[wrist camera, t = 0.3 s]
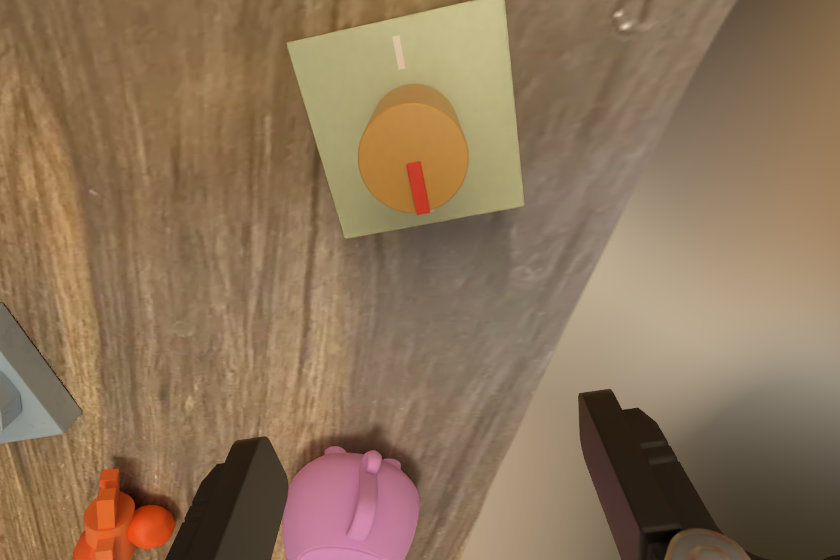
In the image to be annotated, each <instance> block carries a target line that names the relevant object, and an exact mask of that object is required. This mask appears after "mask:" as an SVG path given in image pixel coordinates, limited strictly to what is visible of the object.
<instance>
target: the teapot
mask: <svg viewBox="0 0 840 560" xmlns="http://www.w3.org/2000/svg"><path fill="white" fill-rule="evenodd" d="M400 469H401V464H400V462H399V461H397V460H395V459H390V458H388V459H384V460H382V456H381V454H380V453H378V452H377V451H374V450H373V451H368V452H366V453H365V454H357V453H347V452H346V451H345V450H344V449H343V448H341V447H337V446H332V447H329V448H327V449H326V450H325V452H324V455H323V456H321V457H318V458H317V459H315V460H313V461H311V462H310V463H308V464H307V465H306V466H304V467H303V468H302V469H301V470H300V471H299V472H298V473H297V474H296V476H295V477H294V479H293V480H292V482H291V484H290V485H289V488H288V498H287V502H286V506H285V509H284V513H283V522H282V533H283V544H284V550H285V555H286V559H287V560H404V559H405V557H406V555H407V553H408V551H409V548H410V546H411V543H412V541H413V538H414V534H415V530H416V526H417V522H418V516H419V508H420V498H419V494H418V491H417V489H416V487H415V485H414V484H413V482H412V481H411V480H410V478H409V477H408V476H407V475H406V474H405V473H404V472H403V471H401V470H400Z"/></svg>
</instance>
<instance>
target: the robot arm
mask: <svg viewBox="0 0 840 560" xmlns="http://www.w3.org/2000/svg"><path fill="white" fill-rule="evenodd" d="M578 402H579V427H580V441H581V447H582V451H583V455H584V459H585V462H586V465H587V467H588V470H589V473H590V475H591V478H592V481H593V484H594V486H595V489H596V491H597V494H598V497H599V500H600V503H601V505H602V508H603V511H604V513H605V516H606V519H607V522H608V524H609V527H610V530H611V532H612V535H613V538H614V540H615V543H616V546H617V548H618V551H619V554H620V556H621V559H622V560H768V559H764V558H761V557H758V556H756V555H753V554H751V553H749V552H747V551H745V550H743V549H742V548H741V547H740V546H739V545H737V544H736V543H735V542H734V541H732V540H731V539H729V538H728V537H726V536H725V535H724V534H723V533H722V532H721V531H720V529H719V528H718V527H717V526H716V524H715V522H714V521H713V519H712V518H711V516H710V514H709V512H708V510H707V509H706V507H705V505H704V504H703V502H702V500H701V498H700V497H699V495H698V493H697V492H696V490H695V488H694V486H693V485H692V483H691V481H690V479H689V478H688V476H687V474H686V473H685V471H684V469H683V467H682V466H681V464H680V462H678V461H677V457H676V455H675V454H674V452H673V450H672V448H671V447H670V446H669V445H668V442H667V440H666V438H665V436H664V435H663V433H662V431H661V429H660V428H659V426H658V424H657V423H656V422H655V421H654V420H653V419H651V418H650V417H649V416H648V415H646V414H645V413H644V412H643V411H641V410H640V409H639V408H633V409H626V410H622V409H621V407H620V405H619V403H618V401H617V399H616V397H615V395H614V393H613V392H612V390H611V389H606V390H599V391H592V392H585V393H579V396H578ZM287 498H288V480H287V476H286V473H285V471H284V469H283V467H282V465H281V463H280V461H279V459H278V457H277V454H276V452H275V450H274V448H273V446H272V444H271V442H270V440H269V439H268V438H267V437H257V438H250V439H243V440H237V441H235V442H234V444H233V445H232V447H231V449H230V452H229V454H228V456H227V459H226V461H225V463H222V464H217V465H216V466H215V467H214V468H213V470H212V471H211V472H210V473H209V474H208V475H207V477H206V478H205V479H204V480H203V481H202V482H201V484H200V487H199V489H198V491H197V493H196V495H195V497H194V499H193V502H192V503H193V505H192V506H190V508H189V510H188V512H187V514H186V517H185V522H184V523H182V525H181V527H180V529H179V532H178V534H177V536H176V538H175V540H174V542H173V544H172V547H171V549H170V551H169V553H168V555H167V557H166V559H165V560H271V557H272V553H273V549H274V546H275V542H276V538H277V535H278V531H279V527H280V524H281V520H282V516H283V513H284V509H285V506H286V502H287ZM824 560H840V555H836V556H831V557H828V558H826V559H824Z"/></svg>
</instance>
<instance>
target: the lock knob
mask: <svg viewBox="0 0 840 560" xmlns="http://www.w3.org/2000/svg"><path fill="white" fill-rule="evenodd" d="M468 165H469V152H468V146H467V142H466V139H465V136H464V134H463V131H462V128H461V125H460V122H459V120H458V117H457V114H456V111H455V109H454V108H453V106H452V104H451V103H450V101H449V100H448V99H447V98H446V97H445V96H444V95H443V94H442V93H440V92H439V91H437V90H436V89H434V88H431V87H429V86H425V85H420V84H409V85H404V86H400V87H398V88H396V89H394V90H392V91H390V92H389V93H388V94H386V95H385V96H384V97H383V98H382V99H381V100H380V102H379V103H378V105H377V106H376V108H375V110H374V112H373V114H372V116H371V118H370V120H369V122H368V124H367V126H366V128H365V131H364V133H363V135H362V137H361V140H360V143H359V148H358V166H359V171H360V174H361V177H362V180H363V182H364V184H365V185H366V187H367V188H368V190H369V191H370V192H371V194H372V195H373V196H374V197H375V198H376V199H377V200H378V201H380V202H381V203H383V204H384V205H386V206H388V207H390V208H392V209H395V210H397V211H401V212H407V213H417V215H422V214H427V213H430V210H433V209H435V208H438V207H439V206H441V205H443V204H445V203H446V202H447V201H449V200H450V199H451V198H452V197H453V196H454V195H455V194H456V193H457V191H458V190H459V189H460V187H461V185H462V184H463V181H464V179H465V177H466V174H467V170H468Z"/></svg>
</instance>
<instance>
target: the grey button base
mask: <svg viewBox="0 0 840 560" xmlns="http://www.w3.org/2000/svg"><path fill="white" fill-rule="evenodd" d="M81 413H82V411H81V410H80V408H79V407H78V405H77V404H76V403H75V401H74V400H73V399H72V397H71V396H70V395H69V393H68V392H67V390H66V389H65V388H64V386H63V385H62V384H61V382H60V381H59V379H58V378H57V377H56V375H55V374H54V373H53V371H52V370H51V369H50V367H49V366H48V364H47V363H46V362H45V360H44V359H43V358H42V356H41V355H40V354H39V352H38V351H37V349H36V348H35V347H34V345H33V344H32V343H31V341H30V340H29V338H28V337H27V336H26V334H25V333H24V332H23V330H22V329H21V328H20V326H19V325H18V323H17V322H16V321H15V319H14V318H13V317H12V315H11V314H10V313H9V311H8V310H7V308H6V307H5V306H4V304H3V303H0V444H1V443H7V442H14V441H20V440H27V439H33V438H40V437H47V436H53V435H60V434H64V433H65V432H66V431H67V430H68V428H69V427H70V426H71V425H72V424H73V423H74V421H75V420H76V419H77V418H78V417H79V416H80V414H81Z"/></svg>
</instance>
